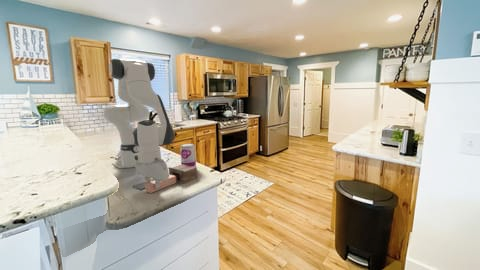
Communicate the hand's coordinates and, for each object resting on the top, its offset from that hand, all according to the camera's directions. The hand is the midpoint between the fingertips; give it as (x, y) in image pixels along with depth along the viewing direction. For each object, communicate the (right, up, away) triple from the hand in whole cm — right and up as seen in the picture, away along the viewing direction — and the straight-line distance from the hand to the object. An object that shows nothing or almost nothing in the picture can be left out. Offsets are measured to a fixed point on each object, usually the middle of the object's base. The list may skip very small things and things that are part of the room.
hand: (153, 186), depth 98 cm
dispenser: (+10, +1, +14) cm, 17 cm away
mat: (-5, -1, +9) cm, 10 cm away
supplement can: (+10, +3, +29) cm, 30 cm away
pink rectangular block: (+2, -1, +4) cm, 5 cm away
